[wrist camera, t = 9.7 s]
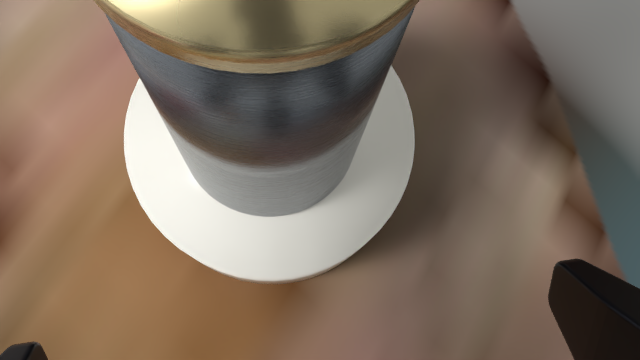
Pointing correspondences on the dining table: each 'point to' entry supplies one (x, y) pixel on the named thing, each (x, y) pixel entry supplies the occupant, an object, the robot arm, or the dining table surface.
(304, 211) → the ceramic trivet
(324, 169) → the grey tin
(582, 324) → the robot arm
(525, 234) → the dining table surface
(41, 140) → the dining table surface
